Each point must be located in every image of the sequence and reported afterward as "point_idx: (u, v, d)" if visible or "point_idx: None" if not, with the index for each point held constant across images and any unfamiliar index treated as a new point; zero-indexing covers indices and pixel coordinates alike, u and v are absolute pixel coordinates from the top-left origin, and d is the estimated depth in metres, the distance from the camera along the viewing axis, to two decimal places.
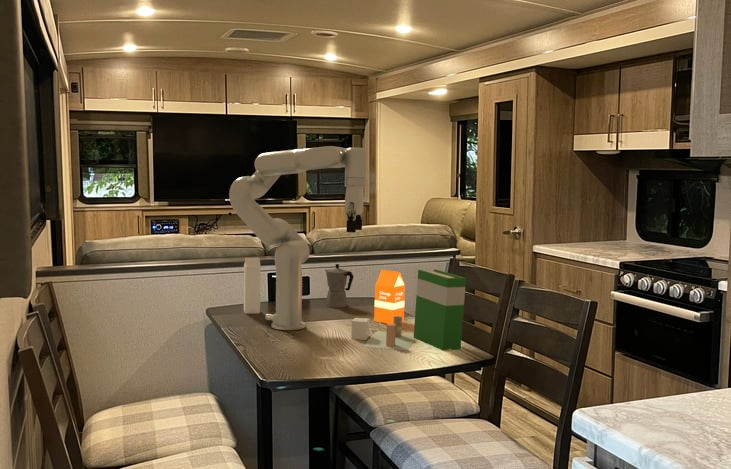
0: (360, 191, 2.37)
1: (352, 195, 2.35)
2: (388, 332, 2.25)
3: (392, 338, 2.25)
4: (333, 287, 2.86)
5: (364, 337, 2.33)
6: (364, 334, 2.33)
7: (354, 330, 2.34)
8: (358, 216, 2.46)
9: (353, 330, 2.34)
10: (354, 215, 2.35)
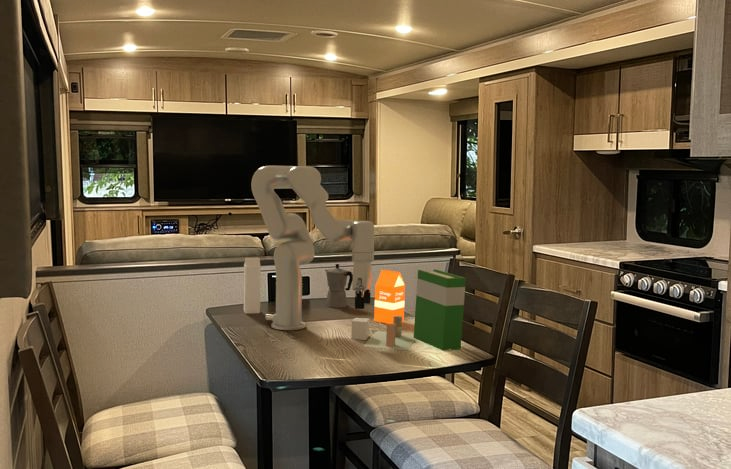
0: (368, 266, 2.31)
1: (360, 271, 2.29)
2: (388, 332, 2.25)
3: (392, 338, 2.25)
4: (333, 287, 2.86)
5: (364, 337, 2.33)
6: (364, 334, 2.33)
7: (354, 330, 2.34)
8: (366, 289, 2.39)
9: (353, 330, 2.34)
10: (362, 291, 2.29)
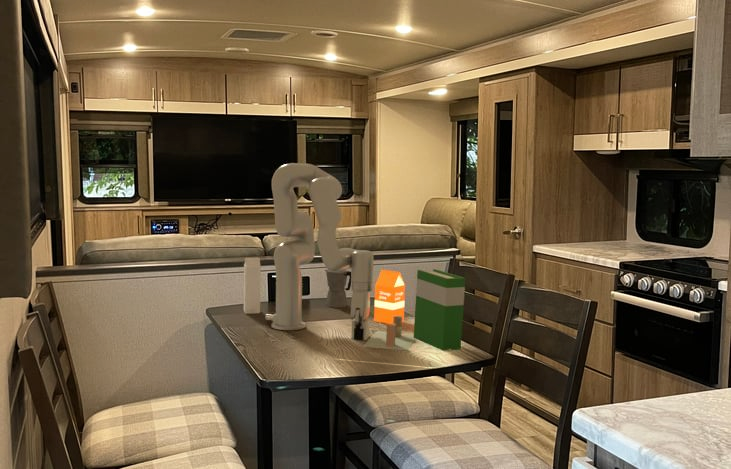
0: (367, 296, 2.32)
1: (358, 301, 2.30)
2: (388, 332, 2.25)
3: (392, 338, 2.25)
4: (333, 287, 2.86)
5: (364, 337, 2.33)
6: (364, 334, 2.33)
7: None
8: None
9: (353, 330, 2.34)
10: (361, 323, 2.32)
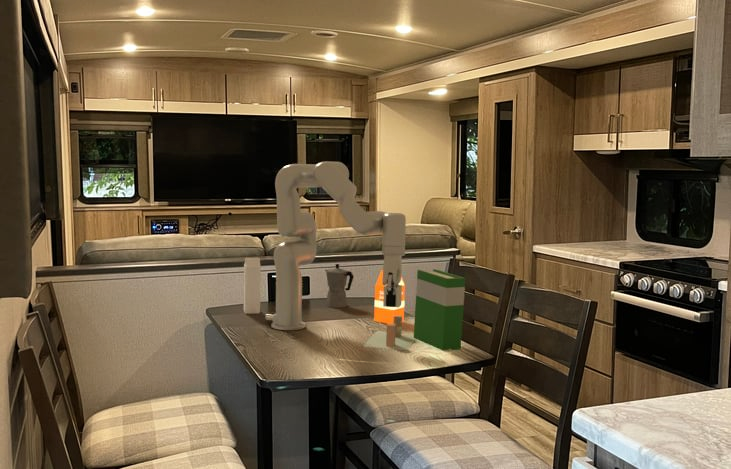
0: (399, 260, 2.21)
1: (391, 265, 2.19)
2: (388, 332, 2.25)
3: (392, 338, 2.25)
4: (333, 287, 2.86)
5: (397, 303, 2.22)
6: (397, 300, 2.22)
7: None
8: None
9: (385, 296, 2.23)
10: (394, 289, 2.21)
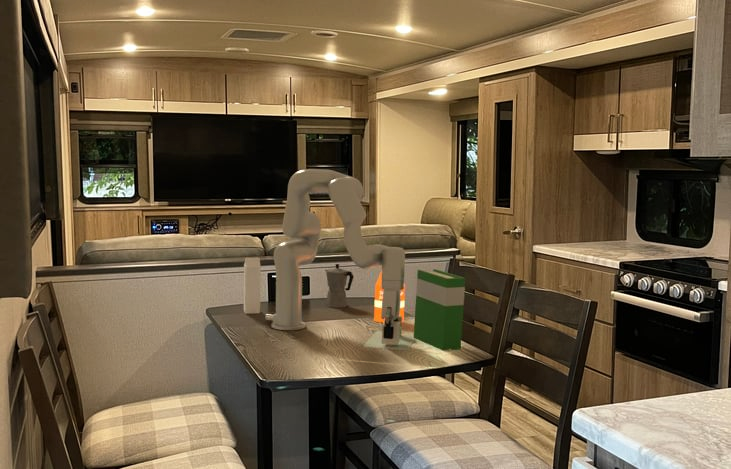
0: (398, 294, 2.23)
1: (390, 299, 2.20)
2: None
3: None
4: (333, 287, 2.86)
5: (395, 341, 2.24)
6: (395, 338, 2.24)
7: None
8: None
9: None
10: (392, 321, 2.21)
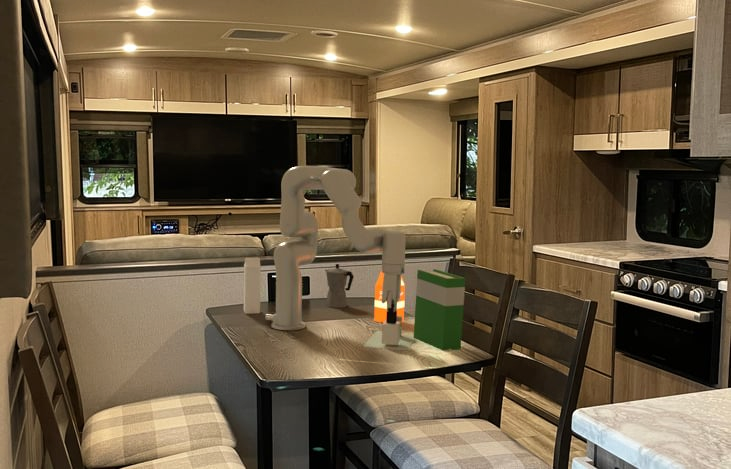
0: (398, 278, 2.22)
1: (390, 283, 2.20)
2: None
3: None
4: (333, 287, 2.86)
5: (395, 341, 2.24)
6: (395, 338, 2.24)
7: (385, 333, 2.24)
8: None
9: (384, 334, 2.24)
10: (394, 307, 2.23)
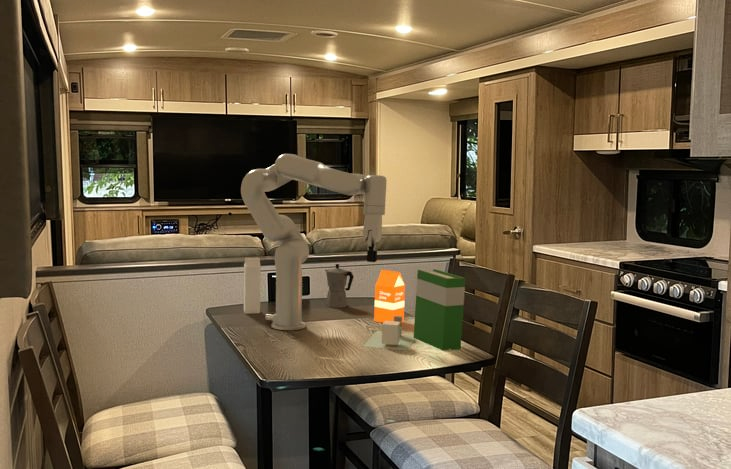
0: (379, 219, 2.37)
1: (371, 223, 2.35)
2: None
3: None
4: (333, 287, 2.86)
5: (395, 341, 2.24)
6: (395, 338, 2.24)
7: (385, 333, 2.24)
8: None
9: (384, 334, 2.24)
10: (374, 246, 2.39)
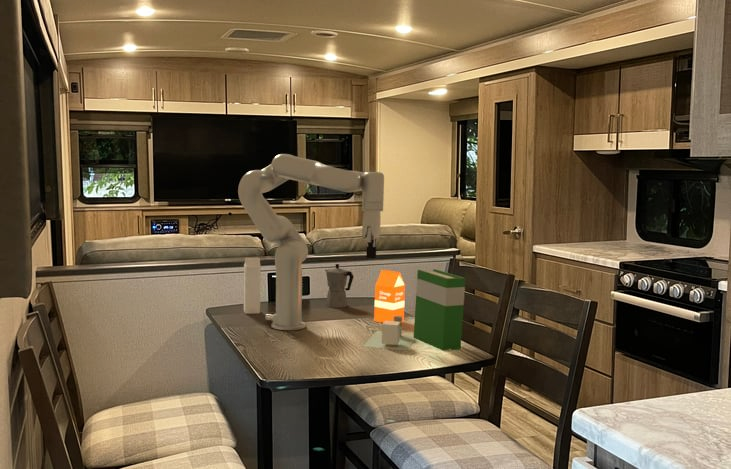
0: (377, 215, 2.39)
1: (370, 219, 2.37)
2: None
3: None
4: (333, 287, 2.86)
5: (395, 341, 2.24)
6: (395, 338, 2.24)
7: (385, 333, 2.24)
8: None
9: (384, 334, 2.24)
10: (373, 242, 2.40)
